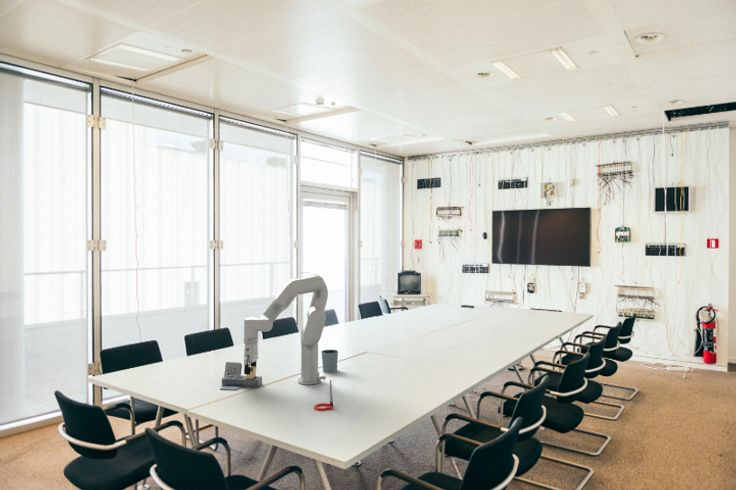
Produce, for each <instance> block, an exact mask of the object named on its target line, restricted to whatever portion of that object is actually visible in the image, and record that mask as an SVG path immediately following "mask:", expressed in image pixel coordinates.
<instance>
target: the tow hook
mask: <svg viewBox="0 0 736 490" xmlns="http://www.w3.org/2000/svg"><path fill="white" fill-rule="evenodd" d="M323 406H325V407H323ZM313 409H314V410H315V411H327V410H331V411H333V410H334V399H333V384H332V380H329V402H326V403H325V402H322V403H316V404H314V405H313Z"/></svg>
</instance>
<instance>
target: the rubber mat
mask: <svg viewBox="0 0 736 490" xmlns="http://www.w3.org/2000/svg"><path fill="white" fill-rule="evenodd" d="M240 388H241V387H240V386H221V387H220V391H222V390H223V391H238V390H239V389H240Z"/></svg>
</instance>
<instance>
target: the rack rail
mask: <svg viewBox="0 0 736 490" xmlns="http://www.w3.org/2000/svg"><path fill="white" fill-rule="evenodd" d="M262 384H263V376H260V375H259V376H257V375H256V378H255V379H254V380H253V379H246V375H241V376H231V375H227V376H225V377H224V376H223V377H222V378H221V387H223V386H240V388H257V389H258V388H259V387H260V386H261V385H262Z"/></svg>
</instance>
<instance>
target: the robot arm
mask: <svg viewBox="0 0 736 490" xmlns="http://www.w3.org/2000/svg"><path fill="white" fill-rule="evenodd" d="M311 293H312V297H311V301H310V303H309V304H310V305H309V308H308V311H307V313H306V318H307V321H306V324H305V325H304V326H303V327H302V328H301V331H300V378H299V379H298V380H297V382H298V383H299V384H301V385H311V386H312V385H317V384H319V383H321V382H322V380H327V379H326V378H327V377H326V375H323V374H320V372H319V342H320V340H321V337H322V335H323V330H324V327H325V325H326V320H327V316H326V312H325V309H326V307H327V302H328V297H329V290H328V286H327V283H326V282H325V280H324V278H323V277H322V276H320V275H319V274H317V273H315V274H311V275H309V276H308V277H303V278H302V277H301V278H296V277H295V278H290V279H289V280H288V281H287V282H286V284H285V285H284V286H283V287H282V289H281V291H280V292H279V293H278V294H277V296H276V297H275V298H274V300H273V301H272V302H271V303H270V305H269V306H268V307H267V308H266V310H265V311H264V312H263V313H262V315H261V316H260V317H259V318H258V317H255V316H254V317H252V316H251V317H250V316H249V317H245V319H244V320H243V322H244V323H243V344H244V351H243V352H244V354H243V367H244V369H243V371H244V372H243V373H244V375H246V374H250V366H256V367H257V362H258V361H257V360H258V359H259V345H258V344H259V332H262V333H263V332H264V333H266V332H270V331H271V330H272V329H273V326H274V325H273V324H274V322H275V321H276V320H277V318H278V317H279V315H281V313H282V312H284V311H286V310H287V309H288V308H289V306H290V305H291V304H292V302H294V300H295V299H296V298H297V296H298V295H305V294H311Z"/></svg>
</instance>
